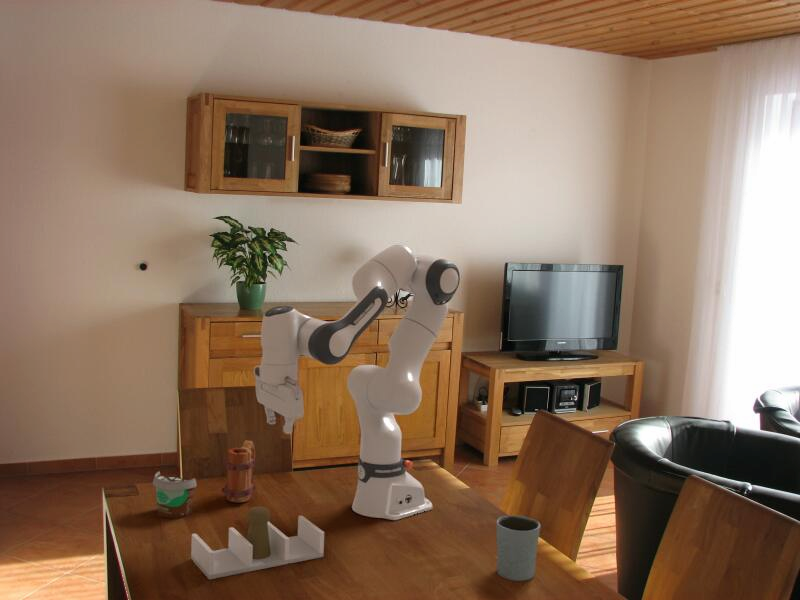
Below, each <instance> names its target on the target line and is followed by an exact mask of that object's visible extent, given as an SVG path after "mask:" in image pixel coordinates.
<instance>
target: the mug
mask: <svg viewBox="0 0 800 600" xmlns="http://www.w3.org/2000/svg"><path fill="white" fill-rule="evenodd" d="M255 460H256V448H255V445H254V441H253V440H244V441H243V444H242V445H241V447H240V448H239V447H233V448H231V449H228V450H227V457H226V460H225V461H224V462H223V463H222V466H223V467H224V468H225V469H226V484H225V485H224V486H223V487H222V488H221V492H222V494H224V495H225V496H226V500H227V501H229V502H231V503H236V504H237V503H238V504H240V503H245V502H248V501H249V500H250V499H251V495H252V493H253V491H254V490H255V489H256V485H255V484H253V482H252V481H251V480H252V476H253V472H254V467H255V463H256V461H255Z"/></svg>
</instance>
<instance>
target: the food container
mask: <svg viewBox="0 0 800 600" xmlns="http://www.w3.org/2000/svg"><path fill="white" fill-rule="evenodd" d="M152 485H153V487H155V495H156V507H157V509H156V510H157V515H158V516H160V517H162V518H165V517H167V518H166V519H180V517H182V518H185V517H184V516H187V517H189V516H188V515H190V516H192V514H193V513H192V511H193V504H194V503H193V502H194V494H195V488H196V487H197V480H196V478H195V477H193V478H192V479H189V480H187V479H184V478H181V477H179V476H168V475H162V474H161V471H157V472H156V473H155V475H154V477H153V480H152Z"/></svg>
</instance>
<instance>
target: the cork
mask: <svg viewBox="0 0 800 600" xmlns="http://www.w3.org/2000/svg"><path fill="white" fill-rule="evenodd" d="M270 517H271V512H270V509H268V508H267V507H266V506H265V507H264V506H253V507H251V508H250V509H249V510H248V512H247V517H246V518H247V521H248V522H249V523H248V524H249V525H248V532H247V537H246V540H247V541H249V542H250V543H251V544H252V545H253V554H252V559H263V558H267V557H269V556H270V554H271V552H270V542H269V532H268V523H267V522H268V521H269V522H270Z"/></svg>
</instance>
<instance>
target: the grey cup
mask: <svg viewBox="0 0 800 600" xmlns="http://www.w3.org/2000/svg"><path fill="white" fill-rule="evenodd" d="M540 530H541V523H540V522H539V521H538V520H536V519H533V518H531V517H527V516H522V515H505V516H501V517H499V518H497V520H496V542H497V543H496V545H497V548H496V551H497V553H496V555H497V562H496V573H497V574H498V575H499V576H500V577H502V578H504V579H507V580H510V581H516V582H517V581H519V582H521V581H524V582H525V581H529V580H531V579H532V578H533V577H534V575H535V573H536V572H535V571H536V559H537V553H538V552H537V551H538V546H539V545H538V543H539V537H540Z"/></svg>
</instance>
